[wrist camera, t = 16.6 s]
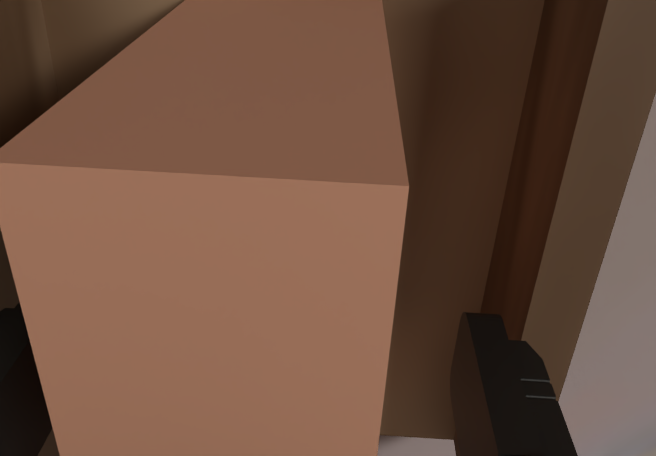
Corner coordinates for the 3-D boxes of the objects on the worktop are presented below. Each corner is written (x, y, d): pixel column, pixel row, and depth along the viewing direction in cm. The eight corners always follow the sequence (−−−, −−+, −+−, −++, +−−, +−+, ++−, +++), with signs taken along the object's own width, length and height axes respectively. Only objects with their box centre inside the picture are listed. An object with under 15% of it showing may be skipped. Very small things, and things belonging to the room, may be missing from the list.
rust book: (222, 391, 20) (133, 735, 12) (197, -11, 14) (-18, 161, 6) (349, 399, 20) (341, 751, 12) (381, -1, 14) (408, 185, 6)
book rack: (-246, 361, 22) (-392, 482, 18) (-521, -128, 14) (-893, -122, 10) (483, 407, 22) (513, 543, 17) (594, -73, 14) (698, -44, 10)
